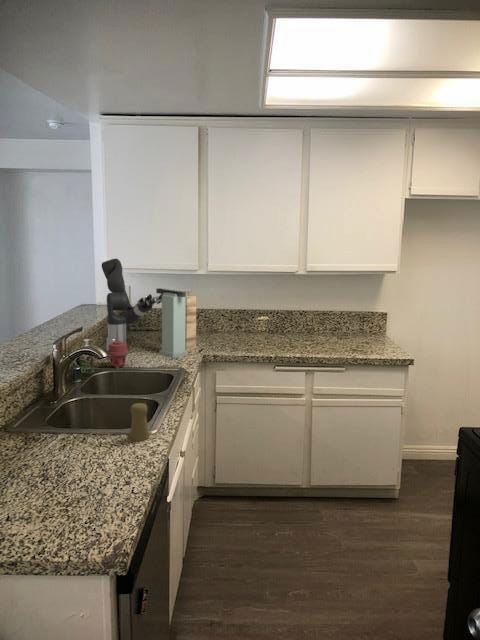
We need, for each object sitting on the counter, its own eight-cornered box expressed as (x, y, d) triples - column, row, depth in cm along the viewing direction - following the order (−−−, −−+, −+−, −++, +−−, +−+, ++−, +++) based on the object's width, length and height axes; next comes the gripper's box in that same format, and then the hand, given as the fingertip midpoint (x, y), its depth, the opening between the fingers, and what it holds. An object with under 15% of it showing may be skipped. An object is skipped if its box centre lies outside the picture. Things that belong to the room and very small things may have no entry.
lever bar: (185, 296, 250) (185, 292, 249) (181, 297, 248) (182, 292, 248) (160, 292, 265) (160, 288, 264) (156, 293, 263) (156, 288, 263)
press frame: (187, 354, 260) (188, 293, 254) (173, 357, 252) (173, 295, 247) (174, 350, 268) (174, 291, 262) (159, 353, 261) (159, 293, 255)
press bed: (195, 348, 275) (196, 296, 270) (186, 350, 270) (186, 297, 265) (184, 345, 281) (184, 294, 276) (175, 347, 276) (175, 295, 271)
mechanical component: (119, 370, 226) (102, 367, 230) (133, 366, 235) (117, 363, 239) (118, 345, 224) (102, 342, 228) (132, 341, 233) (116, 338, 237)
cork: (150, 434, 155) (150, 401, 153) (147, 441, 149) (147, 407, 147) (131, 433, 154) (131, 400, 153) (127, 441, 148) (127, 407, 147)
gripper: (130, 302, 271) (144, 289, 260) (151, 300, 281) (165, 288, 270) (134, 314, 270) (148, 302, 259) (155, 312, 280) (170, 300, 269)
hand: (157, 295), depth 265 cm, fingers open, 8 cm apart
